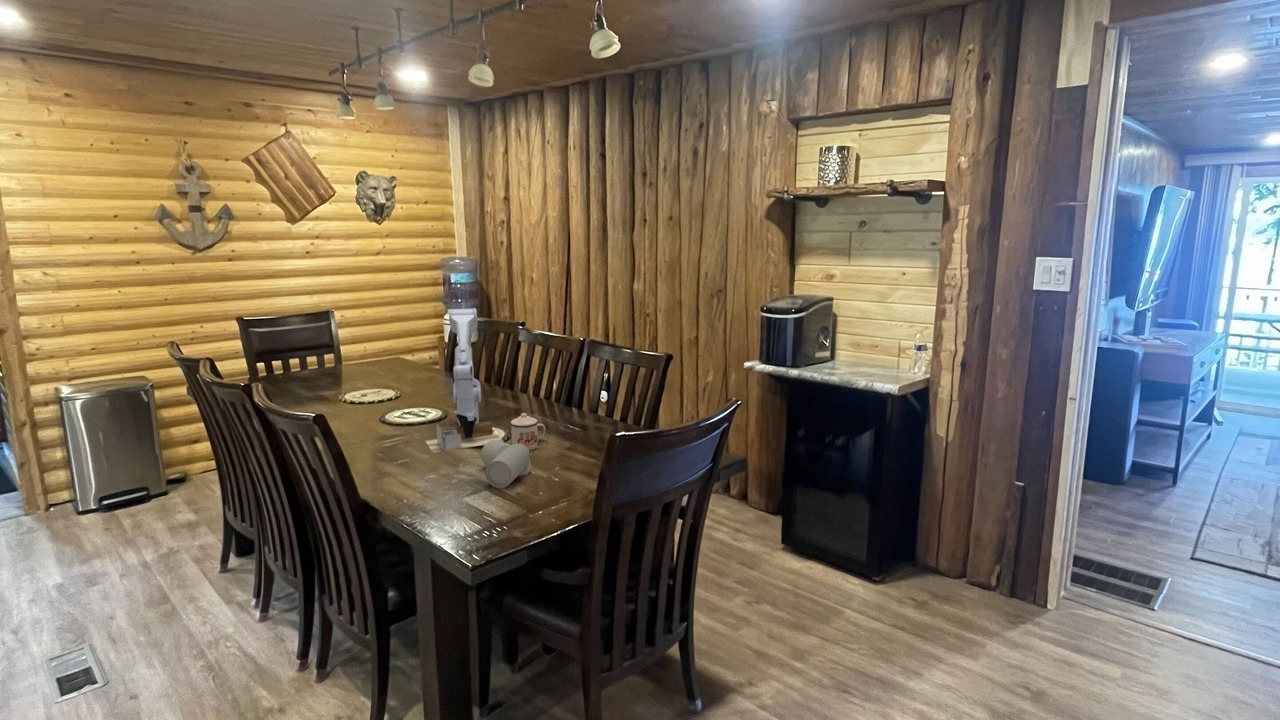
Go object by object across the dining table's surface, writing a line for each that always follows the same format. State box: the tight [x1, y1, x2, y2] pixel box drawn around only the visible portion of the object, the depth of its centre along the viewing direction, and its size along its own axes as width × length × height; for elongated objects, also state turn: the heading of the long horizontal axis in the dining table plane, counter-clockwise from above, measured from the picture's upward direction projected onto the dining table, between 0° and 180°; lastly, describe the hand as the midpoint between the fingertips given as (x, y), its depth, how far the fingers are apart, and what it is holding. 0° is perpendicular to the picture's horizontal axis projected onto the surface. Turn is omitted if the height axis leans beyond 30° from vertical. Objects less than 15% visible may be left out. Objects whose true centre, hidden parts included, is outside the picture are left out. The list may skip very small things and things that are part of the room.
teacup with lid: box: [510, 412, 546, 451], centre depth 236 cm, size 12×9×12 cm
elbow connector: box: [480, 440, 532, 489], centre depth 210 cm, size 18×11×20 cm
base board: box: [424, 430, 505, 454], centre depth 240 cm, size 14×24×1 cm, turn 117°
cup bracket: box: [435, 424, 462, 452], centre depth 234 cm, size 8×6×7 cm
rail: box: [441, 421, 494, 440], centre depth 244 cm, size 4×17×4 cm, turn 117°
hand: (467, 435), depth 244 cm, fingers closed on rail, 3 cm apart
